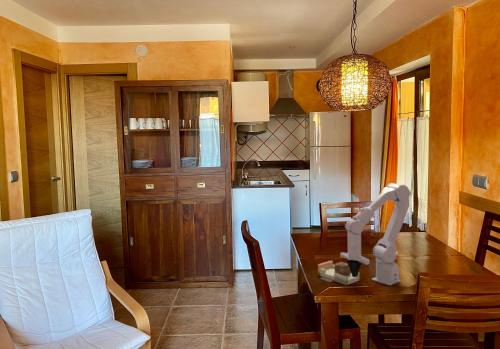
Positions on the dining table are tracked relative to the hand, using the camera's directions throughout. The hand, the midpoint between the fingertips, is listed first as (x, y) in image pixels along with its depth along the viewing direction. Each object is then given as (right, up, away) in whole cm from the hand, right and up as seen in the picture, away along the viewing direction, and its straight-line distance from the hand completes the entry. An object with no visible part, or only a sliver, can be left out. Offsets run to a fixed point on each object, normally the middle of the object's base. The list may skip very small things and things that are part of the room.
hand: (354, 276), depth 172 cm
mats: (-5, -3, +8) cm, 10 cm away
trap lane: (-5, -3, +8) cm, 10 cm away
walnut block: (-4, -1, +6) cm, 7 cm away
